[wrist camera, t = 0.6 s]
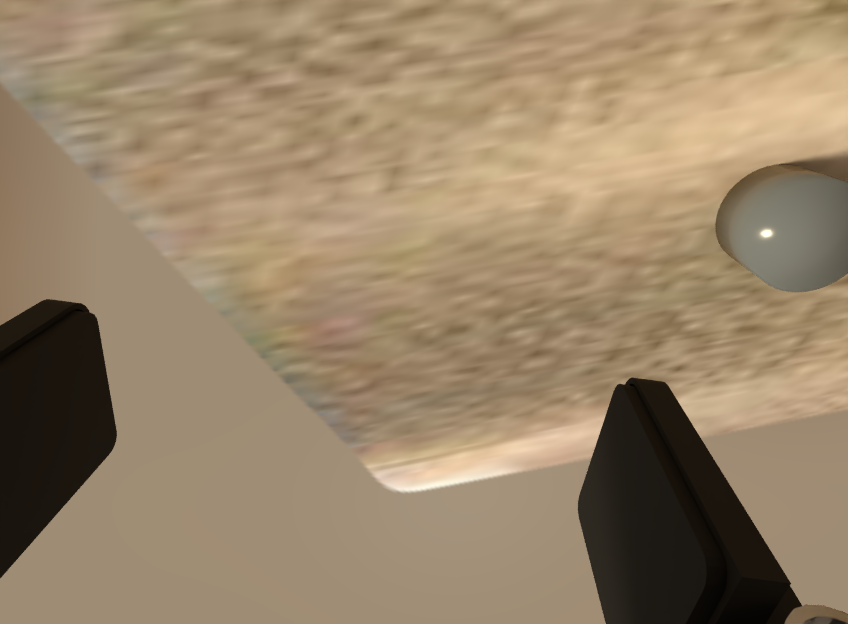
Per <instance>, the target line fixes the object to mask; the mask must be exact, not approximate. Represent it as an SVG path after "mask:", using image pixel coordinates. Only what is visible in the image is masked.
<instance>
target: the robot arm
mask: <svg viewBox="0 0 848 624" xmlns="http://www.w3.org/2000/svg"><path fill="white" fill-rule="evenodd" d="M116 436H117V431H116V426H115V420H114V414H113V408H112V402H111V396H110V390H109V385H108V378H107V373H106V367H105V361H104V356H103V349H102V344H101V338H100V332H99V326H98V321H97V318H96V317H95V315H94V314H92V313H89V310H88V309H87V307H86V306H85V305H83V304H81V303H72V302H66V301H58V300H50V299H46V300H44V301H41V302H39V303H38V304H36V305H34V306H33V307H31V308H29V309H28V310H26V311H24V312H22V313H21V314H19V315H17V316H16V317H14V318H12V319H11V320H9V321H7V322H6V323H4V324H2V325H1V326H0V578H1V577H2V576H3V575H4V573H5V572H6V571H7V570H8V569H9V568H10V567H11V565H12V564H13V563H14V562H15V561H16V560H17V559H18V558H19V556H20V555H21V554H22V553H23V552H24V551H25V550H26V548H27V547H28V546H29V545H30V544H31V543H32V542H33V541H34V539H35V538H36V537H37V536H38V535H39V534H40V533H41V531H42V530H43V529H44V528H45V527H46V526H47V525H48V523H49V522H50V521H51V520H52V519H53V518H54V517H55V515H56V514H57V513H58V512H59V511H60V510H61V509H62V508H63V506H64V505H65V504H66V503H67V502H68V501H69V500H70V498H71V497H72V496H73V495H74V494H75V493H76V492H77V490H78V489H79V488H80V487H81V486H82V485H83V484H84V482H85V481H86V480H87V479H88V478H89V477H90V476H91V474H92V473H93V472H94V471H95V470H96V469H97V468H98V466H99V465H100V464H101V463H102V462H103V461H104V460H105V459H106V457H107V456H108V455H109V454H110V453H111V451H112V449H113V447H114V445H115V442H116ZM578 514H579V519H580V523H581V527H582V531H583V535H584V539H585V543H586V547H587V551H588V555H589V559H590V563H591V567H592V571H593V575H594V578H595V583H596V586H597V590H598V594H599V598H600V602H601V606H602V610H603V614H604V618H605V622H606V624H848V614H847V613H845V612H843V611H839V610H836V609H833V608H830V607H826V606H822V605H804V606H802V605H801V603H800V602H799V600H798V598H797V597H796V595H795V593H794V592H793V590H792V588H791V587H790V584H791V583H790V581H789V580H788V578H787V576H786V575H785V573H784V572H783V570H782V568H781V567H780V565H779V564H778V562H777V560H776V559H775V557H774V555H773V554H772V552H771V551H770V549H769V547H768V546H767V544H766V543H765V541H764V539H763V538H762V536H761V535H760V533H759V531H758V530H757V528H756V526H755V525H754V523H753V522H752V520H751V518H750V517H749V515H748V514H747V512H746V510H745V509H744V507H743V506H742V504H741V502H740V501H739V499H738V498H737V496H736V494H735V493H734V491H733V489H732V488H731V486H730V485H729V483H728V481H727V480H726V478H725V477H724V475H723V474H722V472H721V470H720V469H719V467H718V465H717V464H716V462H715V460H714V459H713V457H712V456H711V454H710V453H709V451H708V449H707V448H706V446H705V444H704V443H703V441H702V440H701V438H700V436H699V435H698V433H697V431H696V430H695V428H694V427H693V425H692V423H691V422H690V420H689V419H688V417H687V415H686V414H685V412H684V411H683V409H682V407H681V406H680V404H679V403H678V401H677V399H676V398H675V396H674V394H673V393H672V391H671V390H670V388H669V386H668V385H667V384H666V383H665V382H661V381H654V380H646V379H639V378H630V379H629V380H628V381H627V382H626V384H625V385H623V384H619V385H617V386H616V388H615V390H614V392H613V395H612V398H611V401H610V404H609V407H608V410H607V413H606V417H605V420H604V423H603V426H602V429H601V432H600V435H599V438H598V441H597V444H596V447H595V450H594V453H593V456H592V459H591V462H590V465H589V468H588V471H587V474H586V477H585V480H584V483H583V486H582V489H581V492H580V495H579V501H578Z"/></svg>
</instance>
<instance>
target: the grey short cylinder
mask: <svg viewBox="0 0 848 624" xmlns="http://www.w3.org/2000/svg"><path fill="white" fill-rule="evenodd" d="M716 236H717V239H718V242H719V244H720V246H721V247H722V249H723V250H724V251H725V252H726V253H727V254H728V255H729V256H730V257H731V258H733V259H734V260H735V261H737V262H738V263H740V264H741V265H742V266H744V267H745V268H746V269H748V270H749V271H750V272H752V273H753V274H754V275H756V276H757V277H758V278H760V279H761V280H763V281H764V282H765V283H767V284H768V285H770V286H772V287H774V288H776V289H779V290H782V291H787V292H806V291H812V290H816V289H819V288H822V287H825V286H827V285H830V284H832V283H834V282H836V281H837V280H839V279H840V278H842V277H844V276H845V275H846V274H848V182H845V181H842V180H839V179H836V178H833V177H830V176H827V175H824V174H820V173H817V172H814V171H811V170H808V169H805V168H802V167H799V166H795V165H789V164H779V165H772V166H767V167H764V168H761V169H759V170H757V171H754V172H752V173H751V174H749V175H747V176H746V177H744V178H743V179H742V180H740V181H739V182H738V183H737V184H736V185H735V186H734V187H733V188H732V189H731V190H730V191H729V192H728V194H727V195H726V197H725V198H724V200H723V202H722V203H721V205H720V208H719V210H718V214H717V217H716Z"/></svg>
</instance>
